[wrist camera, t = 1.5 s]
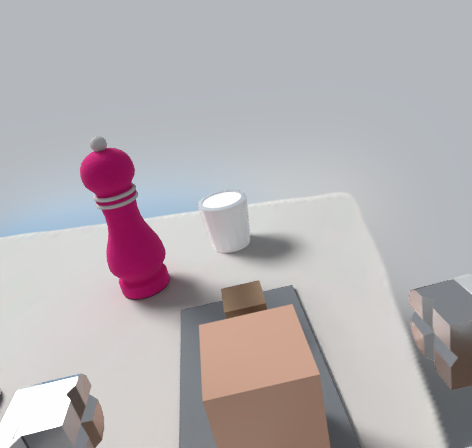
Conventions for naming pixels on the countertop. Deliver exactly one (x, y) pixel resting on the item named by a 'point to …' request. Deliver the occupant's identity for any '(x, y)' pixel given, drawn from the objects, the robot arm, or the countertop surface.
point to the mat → (191, 405)
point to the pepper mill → (124, 222)
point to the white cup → (226, 220)
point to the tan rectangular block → (262, 382)
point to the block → (243, 299)
